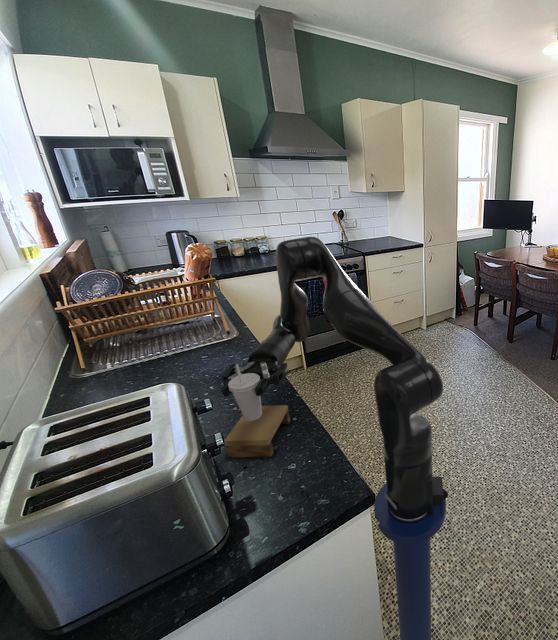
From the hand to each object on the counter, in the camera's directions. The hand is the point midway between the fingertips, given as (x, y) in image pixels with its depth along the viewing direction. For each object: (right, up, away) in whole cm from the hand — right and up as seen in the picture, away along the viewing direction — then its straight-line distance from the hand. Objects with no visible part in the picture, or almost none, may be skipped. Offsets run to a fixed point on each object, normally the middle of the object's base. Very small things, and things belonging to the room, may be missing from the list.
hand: (241, 392), depth 75 cm
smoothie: (0, -7, +5) cm, 9 cm away
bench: (-2, -14, +13) cm, 19 cm away
